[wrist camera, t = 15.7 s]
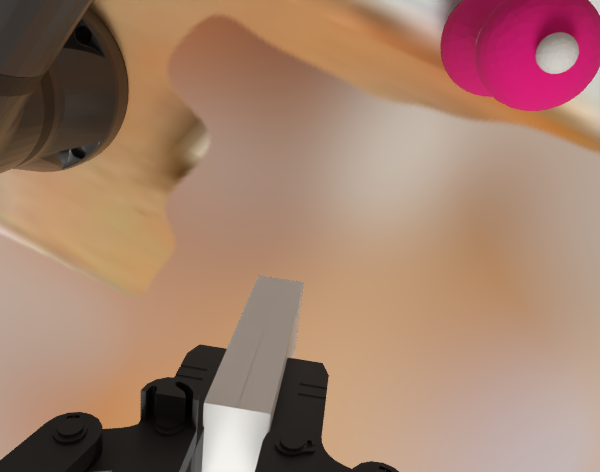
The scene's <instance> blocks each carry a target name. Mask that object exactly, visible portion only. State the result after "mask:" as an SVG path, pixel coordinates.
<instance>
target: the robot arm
mask: <svg viewBox="0 0 600 472" xmlns="http://www.w3.org/2000/svg"><path fill="white" fill-rule="evenodd" d="M92 1H93V0H0V173H3V172H5V171H8V170H10V169H19V170H29V171H38V172H54V171H61V170H66V169H69V168H72V167H75V166H77V165H80V164H82V163H84V162H86V161H88V160H90V159H92V158H94V157H95V156H97V155H98V154H100V153H101V152H102V151H103V150H105V149H106V148H107V147H108V146H109V144H110V143H111V142H112V141H113V139H114V138H115V136H116V135H117V133H118V131H119V130H120V127H121V125H122V123H123V120H124V117H125V113H126V108H127V101H128V82H127V75H126V70H125V65H124V62H123V59H122V56H121V53H120V51H119V48H118V46H117V44H116V42H115V40H114V38H113V37H112V35H111V33H110V32H109V30H108V29H107V28H106V26H105V25H104V24H103V22H102V21H101V20H100V19H99V18H98V17H97V15H96V14H95V13H94V12H93V11H91V10H90V9H89V8H88V7H89V5H90V4H91V2H92ZM303 285H304V283H303V282H298V281H290V280H284V279H278V278H271V277H265V276H258V278H257V280H256V283H255V285H254V287H253V290H252V292H251V294H250V297H249V299H248V301H247V304H246V306H245V308H244V311H243V313H242V315H241V318H240V320H239V322H238V324H237V327H236V329H235V331H234V334H233V336H232V339H231V341H230V343H229V345H228V348H227V349H224V348H218V347H212V346H206V345H198V346H197V347H195V348H194V349H193V350H191V351H190V352H188V353H187V355H186V356H185V358H184V360H183V362H182V364H181V367H179V369H178V371H177V373H176V376H175V377H174V378H169V377H167V378H162V379H157V380H155V381H152V382H150V383H148V384H147V385H146V386H145V387H144V388H143V389H142V390H141V420H140V422H139V424H137V425H134V426H130V427H124V428H113V429H102V425H101V423H100V421H99V419H98V418H96V417H94V416H93V415H91V414H87V413H82V412H75V413H66V414H63V415H60V416H57V417H55V418H53V419H52V420H50V421H48V422H47V423H45V424H44V425H43V426H42V427H40V428H39V429H38V430H37V431H36V432H34V433H33V434H32V435H31V436H29V437H28V438H27V439H26V440H25V441H24V442H22V443H21V444H20V445H19V446H18V447H16V448H15V449H14V450H12V451H11V452H10V453H9V454H8V455H6V456H5V457H4V458H3V459H1V460H0V472H399V471H397V470H396V469H395V468H393V467H391V466H389V465H386V464H384V463H379V462H372V461H371V462H366V463H361V464H359V465H357V466H356V467H354V468H353V469H351V468H348V467H346V466H344V465H342V464H340V463H339V462H337V461H335V460H334V459H333V458H331V457H330V456H329V455H328V453H327V452H326V451H325V449H324V447H323V444H322V438H321V436H322V427H323V418H324V410H325V401H326V393H327V383H328V376H329V375H328V374H327V371H326V369H325V367H324V365H323V363H318V362H312V361H305V360H299V359H294V354H295V347H296V339H297V332H298V323H299V316H300V308H301V300H302V292H303Z"/></svg>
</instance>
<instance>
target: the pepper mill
mask: <svg viewBox="0 0 600 472" xmlns="http://www.w3.org/2000/svg"><path fill="white" fill-rule="evenodd" d="M441 57H442V62H443V65H444V67H445V70H446V71H447V73H448V75H449V77H450V78H451V79H452V80H453V81H454V82H455V83H456V84H457V85H458V86H459V87H460V88H462V89H464V90H466V91H467V92H470V93H473V94H475V95H480V96H488V97H494V98H495V99H496V100H497V101H499V102H501V103H503V104H505V105H507V106H509V107H511V108H514V109H518V110H525V111H541V110H547V109H551V108H554V107H557V106H560V105H562V104H564V103H566V102H568V101H570V100H571V99H573V98H574V97H575V96H577V95H578V94H580V93H581V92H582V91H583V90H584V89H585V88H586V87H587V85H588V84H589V83H590V82H591V81H592V79H593V78H594V76H595V75H596V73H597V71H598V69H599V67H600V16H599V14H598V12H597V10H596V9H595V7H594V6H593V5H592V4H591V3H590V2H589V1H588V0H463V1H462V2H461V3H460V4H459V5H458V6H457V7H456V8H455V9H454V11H453V12H452V13H451V14H450V16H449V18H448V20H447V22H446V24H445V26H444V30H443V33H442V38H441Z"/></svg>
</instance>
